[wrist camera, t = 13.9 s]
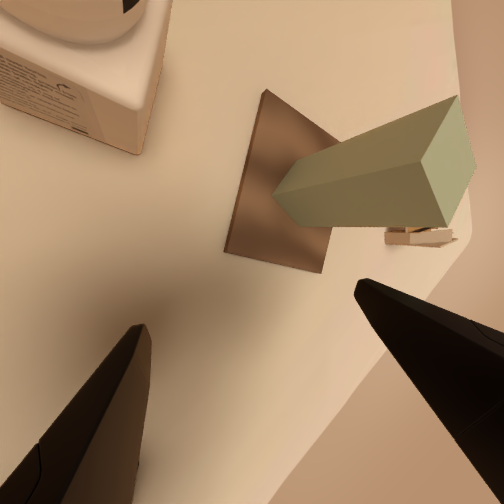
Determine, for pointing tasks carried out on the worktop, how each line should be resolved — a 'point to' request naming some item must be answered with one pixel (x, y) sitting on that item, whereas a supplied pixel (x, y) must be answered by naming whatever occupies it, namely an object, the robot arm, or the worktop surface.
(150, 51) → the container
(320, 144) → the walnut board
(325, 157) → the sage block
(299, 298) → the worktop surface
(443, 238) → the architectural model
